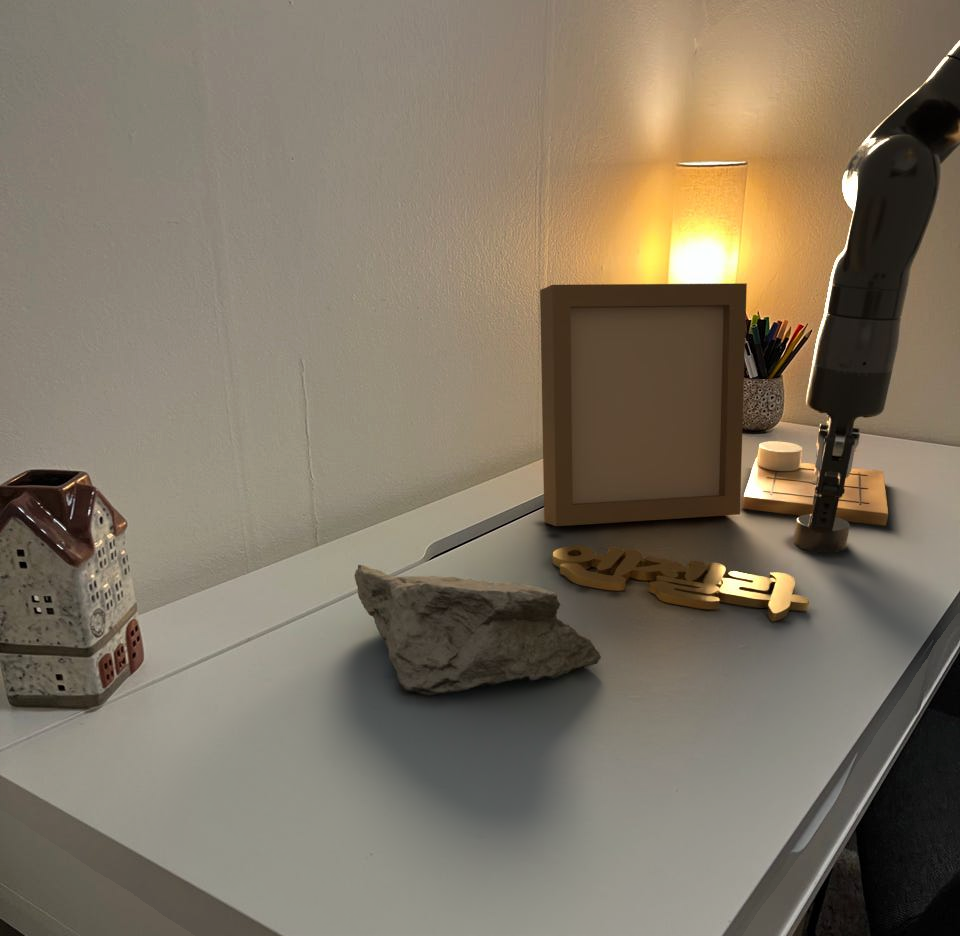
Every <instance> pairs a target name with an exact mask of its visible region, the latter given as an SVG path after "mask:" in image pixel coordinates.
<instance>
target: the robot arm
mask: <svg viewBox="0 0 960 936" xmlns="http://www.w3.org/2000/svg"><path fill="white" fill-rule="evenodd" d="M958 147H960V39H958V40H957V42H955V44H954V45H953V47H951V49H950V50H949V51H948V52H947V53H946V54H945V56H944V57H942V59H941V60H940V62H939V63H938V64H937V65H936V66H935V68H934V69H933V70H932V71H931V73H930V74H929V76H928V77H926V79H925V80H924V81H923V83H922V84H921V85H920V86H918V88H917V89H916V90H915V91H914V92H912V93H911V94H910V95H909V96H907V98H906V99H905V100H904V101H903V102H901V103H900V104H899V105H898V106H897V107H896V108H895V109H894V110H893V111H892V112H891V113H890V114H889V115H888V116H887V117H886V118H885V119H883V120H882V122H880V123H879V125H878V126H876V127H875V129H874V130H873V131H872V132H870V133H869V135H868V136H867V137H866V138H865V139H864V141H862V142H861V144H860V145H859V146H858V147H857V148H856V150H855V151H854V153H853V154H852V155H851V157H850V159H849V160H848V162H847V164H846V167H845V169H844V171H843V175H842V176H843V177H842V183H841V184H842V193H843V197H844V200H845V201H846V203H847V205H848V206H849V208H850V209H851V210H852V211H853V213H852V217H851V222H850V226H849V230H848V235H847V239H846V244H845V247H844V249H843V251H841V252H840V253H839V254H838V256H837V258H836V260H835V262H834V265H833V269H832V272H831V275H830V281H829V286H828V292H827V298H826V302H825V307H824V313H823V318H822V320H821V324H820V327H819V330H818V334H817V338H816V343H815V348H814V354H813V359H812V363H811V364H812V365H811V369H810V376H809V379H808V380H809V382H808V386H807V392H806V397H805V404H806V406H807V408H808V409H810V410H811V411H814V412H816V413H818V414H826V416H827V420H826V424H823V423H819V427H818V432H817V437H816V444H815V445H816V454H815V459H816V460H815V463H814V464H815V470H814V472H815V474H816V475H818V477H817V483H816V487H815V491H814V492H815V493H814V498H813V505H814V509H813V514H812V519H811V525H810V528H811V530H813V531H817V532H825V533H830V532H831V531H832V530H833V526H834V521H835V516H836V511H837V507H838V502H839V498H841V497H842V495H843V494H844V491H845V489H844V484H845V479H846V478H847V477H849V475H850V472H851V468H853V461H854V456H855V452H856V451H858V450H857V449H858V447H859V443H860V442H859V441H860V436H861V434H860V427H854V424H855V421H856V420H857V419H858V418H873V417H877V416H879V415H881V414H882V413H884V410H885V407H886V402H887V397H888V394H889V393H888V392H889V389H890V383H891V379H892V374H893V370H894V365H895V361H896V356H897V352H898V347H899V340H900V328H901V320H902V318H901V317H902V316H903V315H902V314H903V310H904V306H905V302H906V297H907V292H908V288H909V283H910V275H911V269H912V266H913V263H914V260H915V258H916V257H917V254H918V252H919V250H920V248H921V245H922V243H923V239H924V237H925V235H926V232H927V229H928V226H929V223H930V220H931V219H932V215H933V211H934V209H935V205H936V203H937V198H938V195H939V190H940V185H941V176H942V175H941V169H942V167H941V165H942V164H943V163H944V162H945V161H946V160H947V159H948V158H949V156H951V154H953V152H955V150H956V149H957V148H958Z"/></svg>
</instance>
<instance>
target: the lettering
mask: <svg viewBox="0 0 960 936" xmlns="http://www.w3.org/2000/svg"><path fill="white" fill-rule="evenodd" d="M643 556H644V554H643V553H642V552H641V551H640V550H638V549H636V548H630V547H629V548H625V549H622V548H620V547H617V546H609V547H608V549H607V554H599V553H596V552H595V551H594V549H593V548H591V547H588V546H587V545H583V544H577V545H576V544H575V545H574V544H573V545H567V546H562V547H559V548H557V549H555V550H554V551H553V552H552V564H553V565H554V566H556V567H557V568H559V574H560V575H562V576H564V577H565V578H566V579H567V580H568V581H570V582H571V583H573V584H576V585H579V586H583V587H588V588H594V589H599V590H606V591H619V592H620V591H625V589H626V584H627V583H626V582H627V581H628V580H630V579H634V580H637V581H638V580H639V581H649V584H648V592H649V593H651V594H654V595H655V596H656V597H657V599H658V600H660V601H661V602H664V603H667V604H673V605H679V606H684V607H689V608H694V609H701V610H718V609H719V606H720V602H721V603H725V604H730V605H731V604H732V605H737V606H742V607H750V608H758V609H759V608H761V609H764V608H765V609H767V610H766V615H767V616H768V618H769V620H770V621H771V622H778V621H779V620H783V619H784V618H785V617H787V616H788V615H789V613H790V610H791V611H797V612H805V611H806V612H807V611H808V609H809V604H810V600H809V599H808V598H807V597H805V596H802V595H799V594H794V591H795V586H796V579H795V578H794V577H793V576H792V575H791V574H789V573H783V572H777V571H776V572H770V573H769V577H767V576H762V575H755V574H750V573H749V574H748V573H744V572H739V571H735V570H733V571H729V572H728V574H727V577H725V576H726V570H727V569H726V567H725V565H723V564H721V563H718V562H709V563H708V564H706V563H705V562H703V561H701V560H697V559H693V560H689V561H688V567H685V566H683V564H682V563H680V562H679V561H676V560H670V559H667V558H662V557H657V556H652V555H651V556H649V555H647V556H644V557H643ZM590 568H596V572H594V571H591V570H590V571H589V570H588V569H590ZM612 574H613V575H612ZM772 589H773V590H772ZM771 590H772V593H771V594H769V593H770V591H771Z"/></svg>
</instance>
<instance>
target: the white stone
mask: <svg viewBox="0 0 960 936" xmlns="http://www.w3.org/2000/svg"><path fill="white" fill-rule="evenodd" d="M803 450H804V449H803V447H802V446H800V445H799V444H796V443H792V442H786V441H778V440H775V441H774V440H773V441H772V440H771V441H770V440H769V441H763V442H761V443H759V446H758V451H757V457H756V458H757V465H758V466H760V467H762V468H765V469H769V470H774V471H794V470H797V469H799V467H800V463H802V457H803V456H802V455H803Z"/></svg>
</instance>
